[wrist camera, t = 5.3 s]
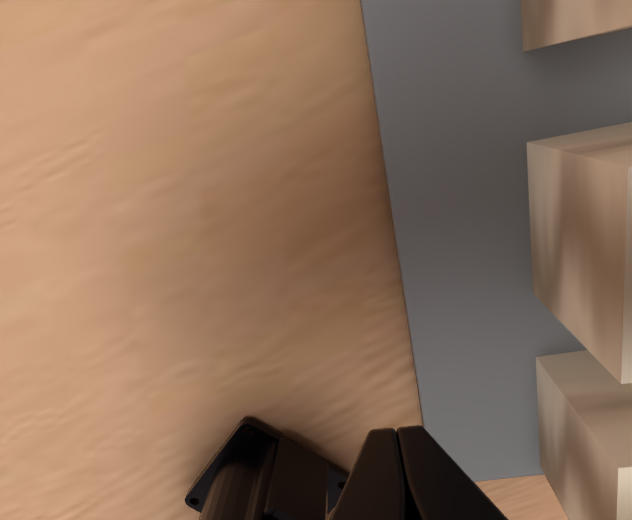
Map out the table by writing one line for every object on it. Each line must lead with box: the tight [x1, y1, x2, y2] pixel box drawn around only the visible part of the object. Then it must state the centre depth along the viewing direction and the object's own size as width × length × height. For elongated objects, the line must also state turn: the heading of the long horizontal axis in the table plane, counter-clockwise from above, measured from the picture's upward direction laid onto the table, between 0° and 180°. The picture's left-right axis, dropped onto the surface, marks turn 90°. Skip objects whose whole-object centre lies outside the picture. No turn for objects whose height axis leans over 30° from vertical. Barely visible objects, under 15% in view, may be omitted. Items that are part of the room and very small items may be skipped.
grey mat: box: [360, 0, 632, 482], centre depth 17 cm, size 25×16×1 cm, turn 11°
